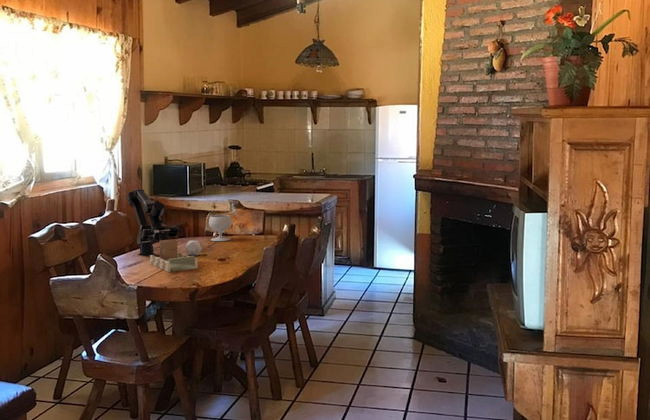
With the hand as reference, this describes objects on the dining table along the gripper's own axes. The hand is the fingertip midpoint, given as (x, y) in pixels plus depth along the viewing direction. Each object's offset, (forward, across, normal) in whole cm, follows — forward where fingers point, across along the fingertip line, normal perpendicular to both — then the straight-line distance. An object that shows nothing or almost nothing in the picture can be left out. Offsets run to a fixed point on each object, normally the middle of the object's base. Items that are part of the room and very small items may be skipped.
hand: (164, 246), depth 343 cm
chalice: (-26, -54, -38) cm, 71 cm away
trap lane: (+13, 0, +1) cm, 13 cm away
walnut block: (+8, 0, 0) cm, 8 cm away
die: (-1, -20, -14) cm, 25 cm away
